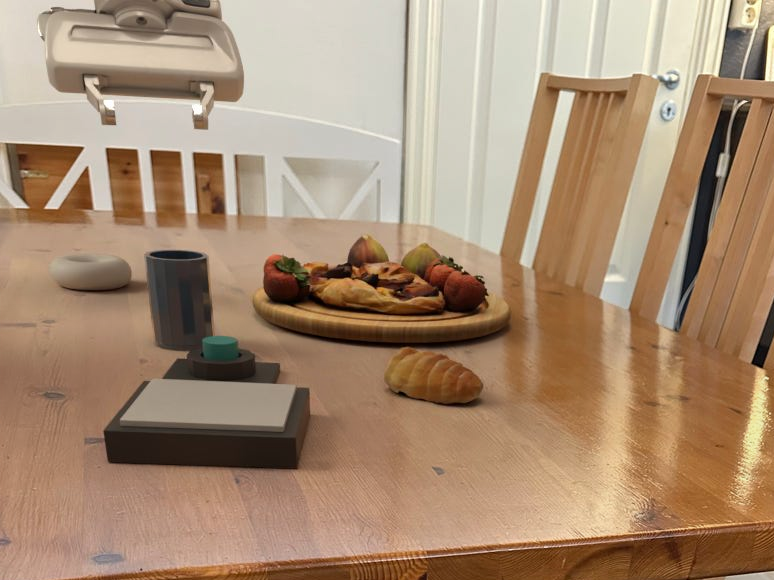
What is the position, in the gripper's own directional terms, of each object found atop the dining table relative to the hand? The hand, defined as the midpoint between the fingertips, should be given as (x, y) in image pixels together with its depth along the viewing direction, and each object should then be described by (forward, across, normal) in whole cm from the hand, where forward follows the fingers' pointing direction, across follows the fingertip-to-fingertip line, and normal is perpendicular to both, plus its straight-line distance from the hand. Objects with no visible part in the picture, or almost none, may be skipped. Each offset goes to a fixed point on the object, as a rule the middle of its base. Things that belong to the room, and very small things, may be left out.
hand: (155, 123), depth 99 cm
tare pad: (+33, +2, -5) cm, 33 cm away
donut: (+1, -9, +28) cm, 29 cm away
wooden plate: (+15, +25, +14) cm, 32 cm away
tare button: (+31, +2, -6) cm, 32 cm away
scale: (+44, 0, -16) cm, 47 cm away
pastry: (+38, +21, -9) cm, 44 cm away
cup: (+23, 0, +5) cm, 24 cm away
